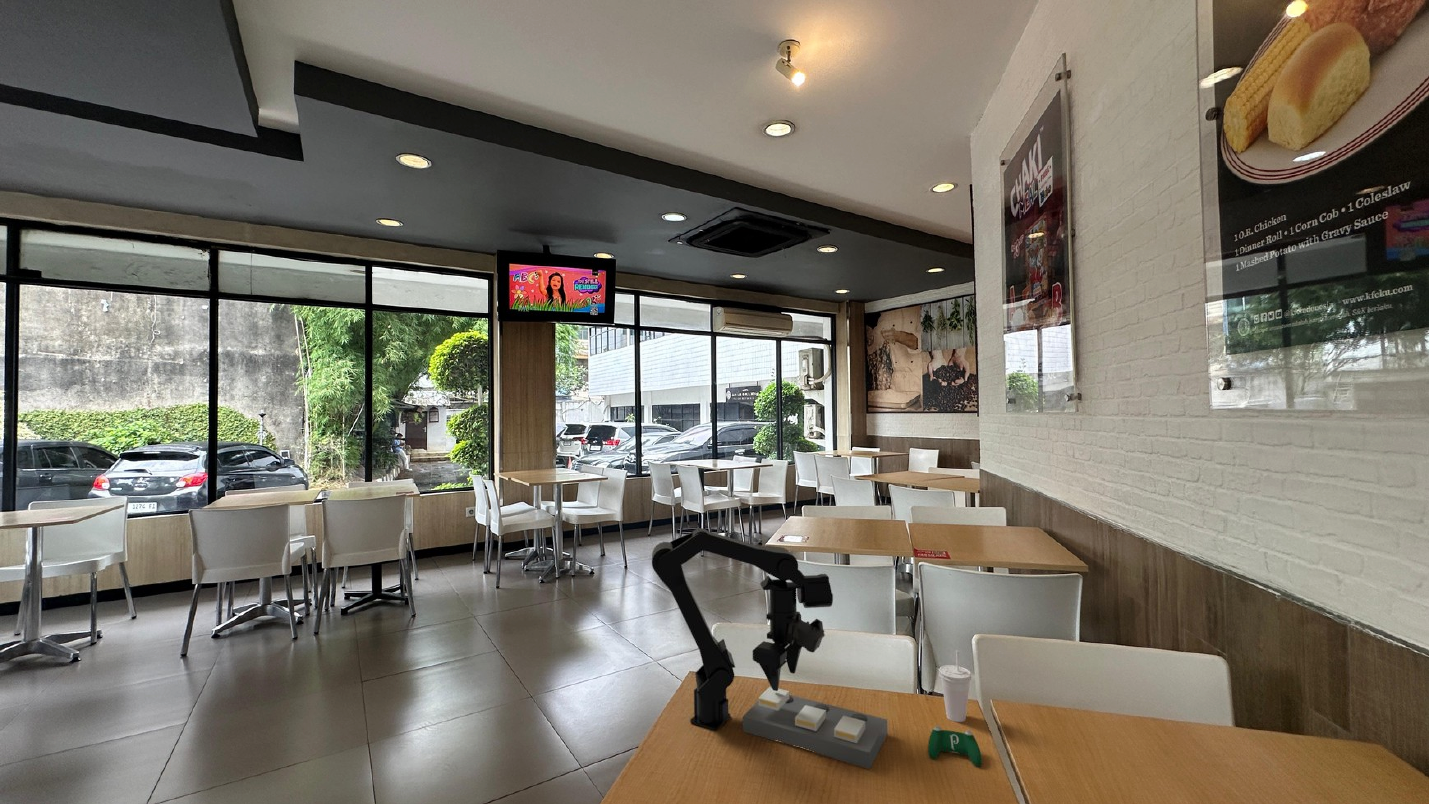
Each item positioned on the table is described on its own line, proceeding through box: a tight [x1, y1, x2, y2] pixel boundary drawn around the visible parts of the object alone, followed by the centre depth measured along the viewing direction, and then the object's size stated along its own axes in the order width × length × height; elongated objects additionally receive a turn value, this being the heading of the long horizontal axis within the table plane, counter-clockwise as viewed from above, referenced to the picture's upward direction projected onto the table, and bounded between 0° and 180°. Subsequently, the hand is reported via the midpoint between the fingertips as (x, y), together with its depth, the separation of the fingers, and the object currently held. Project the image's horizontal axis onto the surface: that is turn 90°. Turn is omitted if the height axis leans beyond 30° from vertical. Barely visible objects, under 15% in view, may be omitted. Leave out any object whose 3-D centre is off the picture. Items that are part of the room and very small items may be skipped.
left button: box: [757, 686, 790, 710], centre depth 120 cm, size 4×6×2 cm
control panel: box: [742, 694, 888, 770], centre depth 118 cm, size 26×13×3 cm, turn 60°
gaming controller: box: [927, 725, 983, 768], centre depth 110 cm, size 9×4×6 cm
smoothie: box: [938, 650, 973, 723], centre depth 123 cm, size 6×6×14 cm
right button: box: [834, 716, 865, 743], centre depth 112 cm, size 4×6×2 cm
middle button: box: [795, 705, 826, 731], centre depth 116 cm, size 4×6×2 cm
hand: (784, 681), depth 125 cm, fingers open, 9 cm apart
